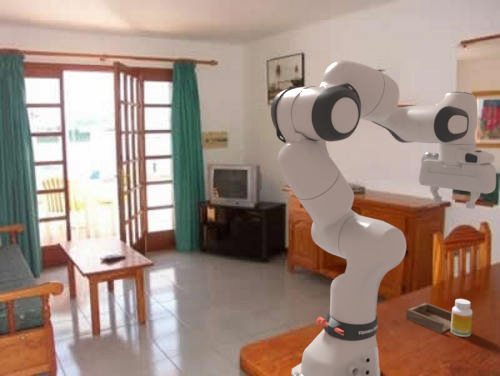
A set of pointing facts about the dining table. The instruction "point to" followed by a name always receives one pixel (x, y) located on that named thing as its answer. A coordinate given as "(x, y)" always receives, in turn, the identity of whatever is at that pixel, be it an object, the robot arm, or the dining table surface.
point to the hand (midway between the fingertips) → (453, 205)
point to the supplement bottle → (461, 318)
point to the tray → (430, 317)
